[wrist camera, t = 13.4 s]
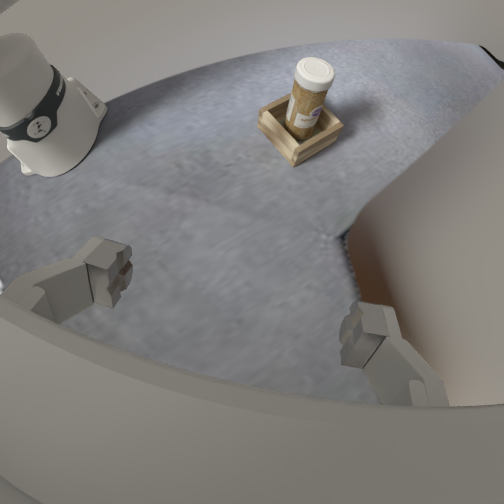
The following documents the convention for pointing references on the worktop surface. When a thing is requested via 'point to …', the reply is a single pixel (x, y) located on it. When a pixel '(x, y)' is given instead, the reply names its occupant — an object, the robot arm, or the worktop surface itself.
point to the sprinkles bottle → (307, 96)
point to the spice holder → (290, 148)
